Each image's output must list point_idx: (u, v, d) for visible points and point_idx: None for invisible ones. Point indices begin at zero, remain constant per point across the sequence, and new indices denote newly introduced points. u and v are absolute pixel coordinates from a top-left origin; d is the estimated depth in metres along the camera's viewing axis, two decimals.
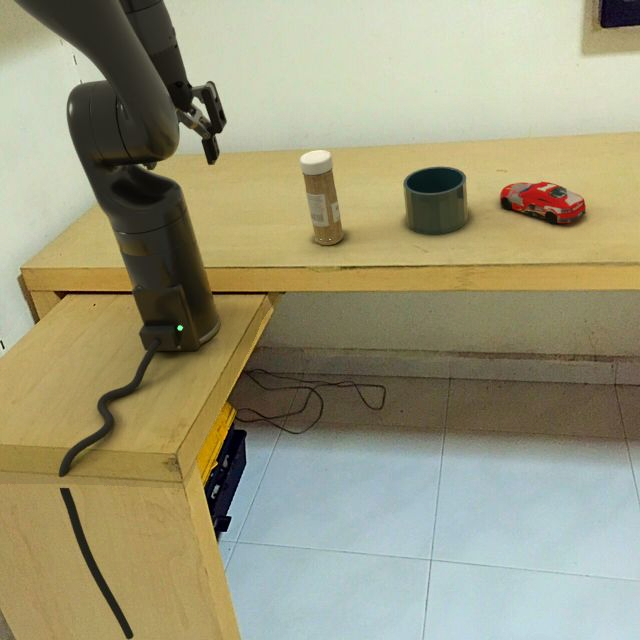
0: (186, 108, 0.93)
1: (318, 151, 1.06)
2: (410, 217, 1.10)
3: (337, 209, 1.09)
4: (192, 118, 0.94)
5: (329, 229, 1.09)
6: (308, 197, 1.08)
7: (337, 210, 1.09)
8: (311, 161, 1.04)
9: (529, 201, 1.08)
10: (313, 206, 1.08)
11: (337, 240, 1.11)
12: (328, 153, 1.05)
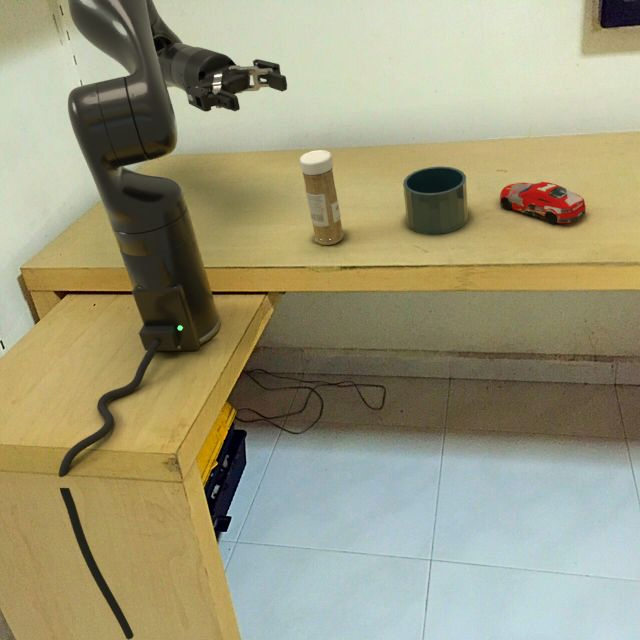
0: None
1: (318, 151, 1.06)
2: (410, 217, 1.10)
3: (337, 209, 1.09)
4: None
5: (329, 229, 1.09)
6: (308, 197, 1.08)
7: (337, 210, 1.09)
8: (311, 161, 1.04)
9: (529, 201, 1.08)
10: (313, 206, 1.08)
11: (337, 240, 1.11)
12: (328, 153, 1.05)
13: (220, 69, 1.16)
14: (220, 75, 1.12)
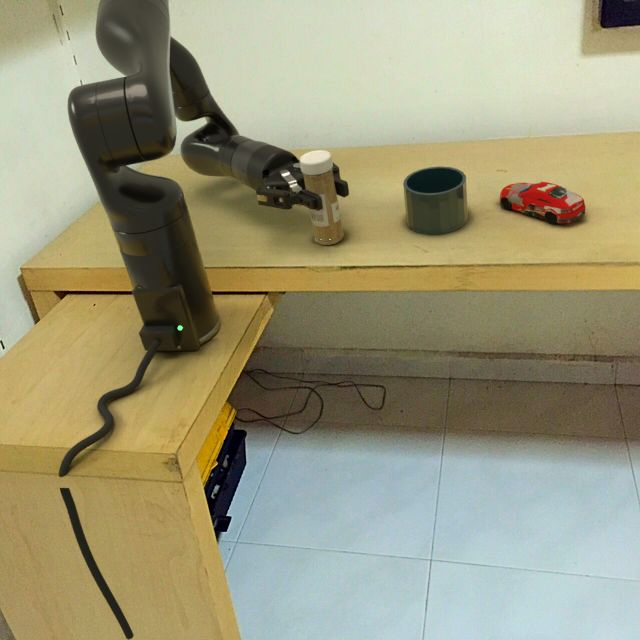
0: None
1: (318, 151, 1.06)
2: (410, 217, 1.10)
3: (337, 209, 1.09)
4: None
5: (329, 229, 1.09)
6: None
7: (337, 210, 1.09)
8: (311, 161, 1.04)
9: (529, 201, 1.08)
10: None
11: (337, 240, 1.11)
12: (328, 153, 1.05)
13: (283, 166, 1.14)
14: (286, 174, 1.11)
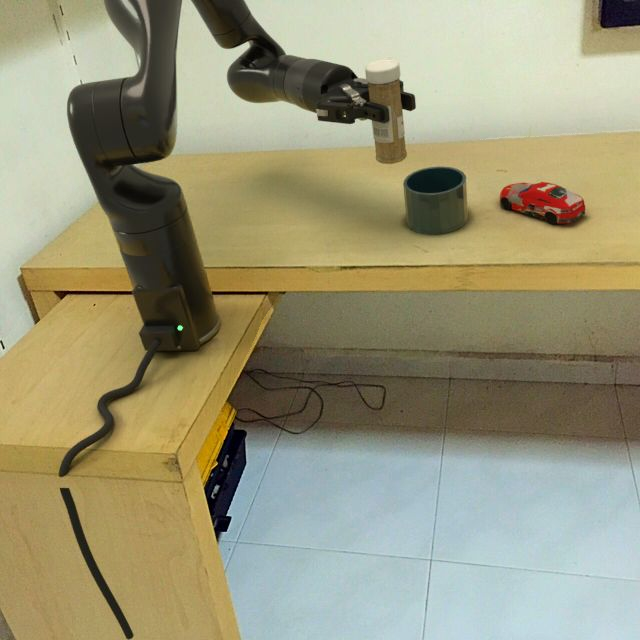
0: None
1: (384, 60, 1.00)
2: (410, 217, 1.10)
3: (402, 124, 1.03)
4: None
5: (393, 145, 1.03)
6: None
7: (402, 125, 1.03)
8: (378, 69, 0.97)
9: (529, 201, 1.08)
10: None
11: (401, 158, 1.05)
12: (396, 61, 0.99)
13: (342, 82, 1.08)
14: (347, 88, 1.04)
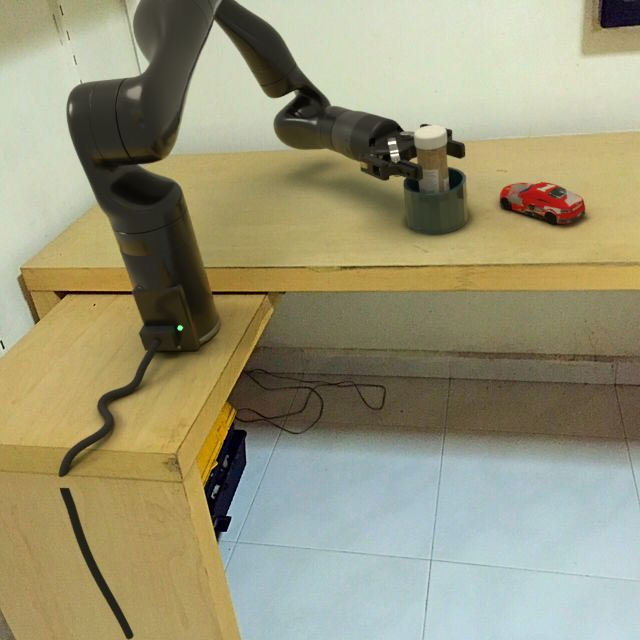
0: None
1: (432, 126, 1.06)
2: (410, 217, 1.10)
3: (448, 185, 1.08)
4: None
5: None
6: None
7: (448, 186, 1.08)
8: (427, 136, 1.03)
9: (529, 201, 1.08)
10: (425, 182, 1.07)
11: None
12: (443, 128, 1.05)
13: (389, 135, 1.13)
14: (394, 142, 1.09)
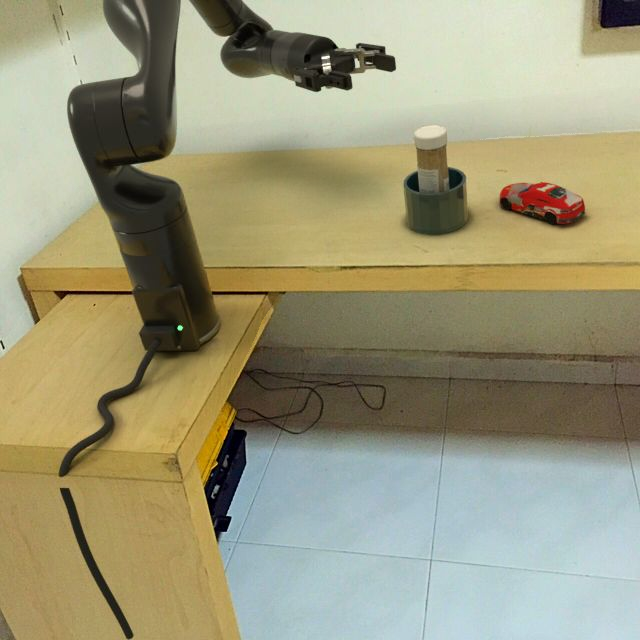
0: None
1: (432, 126, 1.06)
2: (410, 217, 1.10)
3: (448, 185, 1.08)
4: None
5: None
6: (420, 173, 1.07)
7: (448, 186, 1.08)
8: (427, 136, 1.03)
9: (528, 201, 1.08)
10: (425, 182, 1.07)
11: None
12: (443, 128, 1.05)
13: (324, 52, 1.16)
14: (328, 57, 1.12)
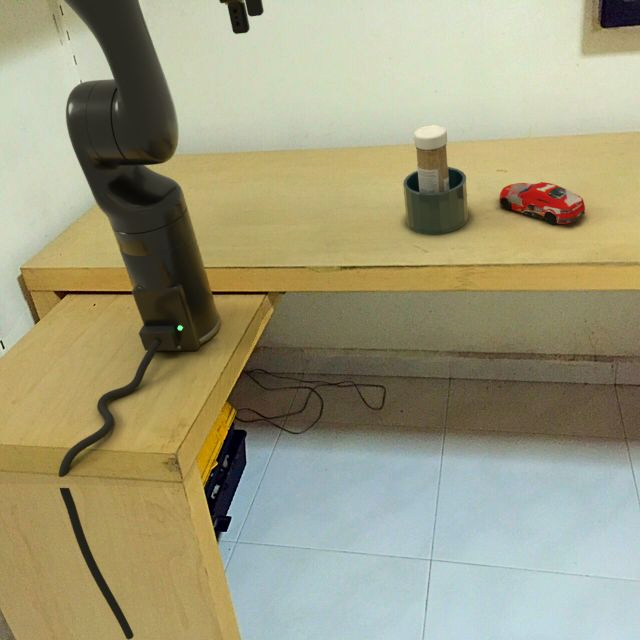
0: None
1: (432, 126, 1.06)
2: (410, 217, 1.10)
3: (448, 185, 1.08)
4: None
5: None
6: (420, 173, 1.07)
7: (448, 186, 1.08)
8: (427, 136, 1.03)
9: (528, 201, 1.08)
10: (425, 182, 1.07)
11: None
12: (443, 128, 1.05)
13: None
14: None
